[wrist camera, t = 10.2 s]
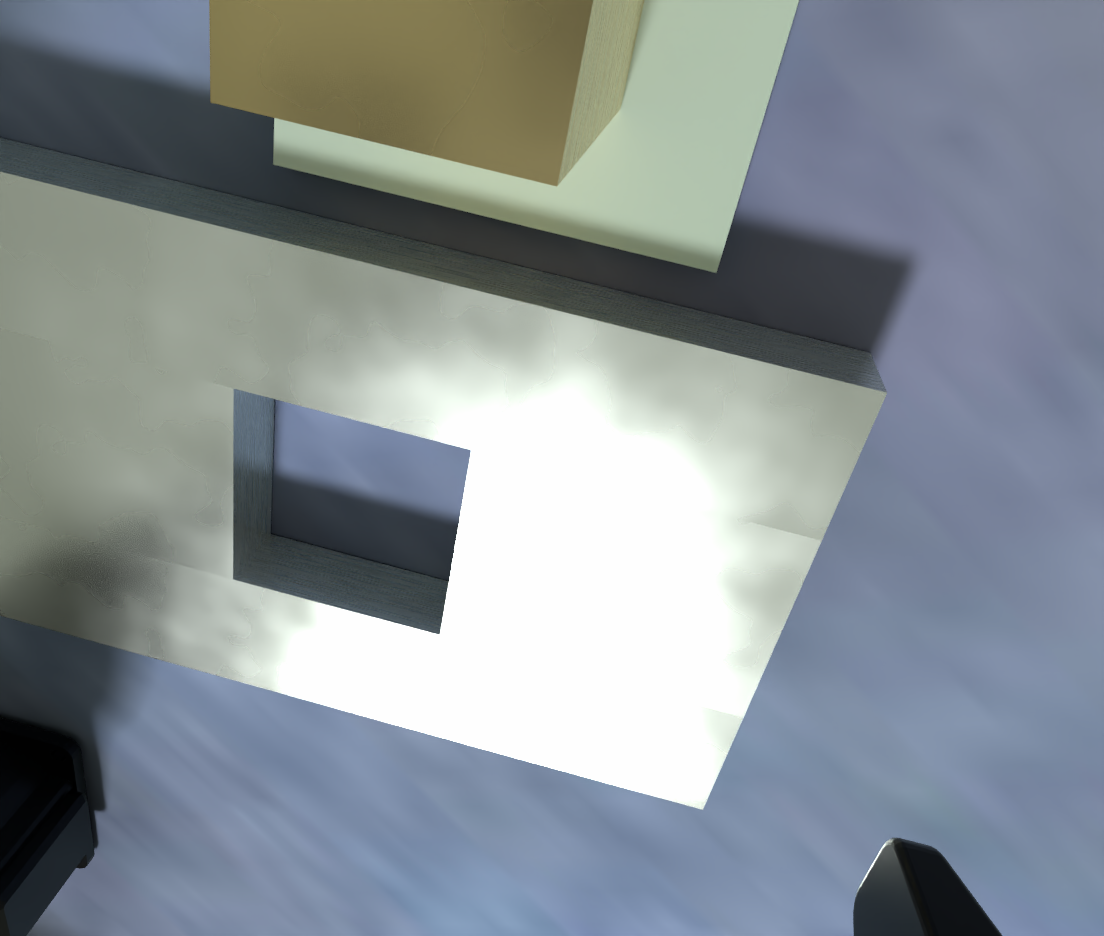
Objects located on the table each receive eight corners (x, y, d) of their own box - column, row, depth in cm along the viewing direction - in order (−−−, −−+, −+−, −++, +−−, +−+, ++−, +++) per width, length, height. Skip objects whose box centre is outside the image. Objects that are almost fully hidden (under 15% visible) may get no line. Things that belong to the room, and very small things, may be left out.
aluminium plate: (21, 563, 24) (-32, 607, 23) (-49, 125, 18) (-127, 139, 17) (703, 749, 23) (702, 809, 22) (870, 352, 17) (886, 392, 16)
